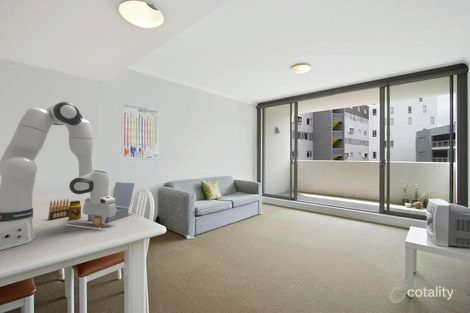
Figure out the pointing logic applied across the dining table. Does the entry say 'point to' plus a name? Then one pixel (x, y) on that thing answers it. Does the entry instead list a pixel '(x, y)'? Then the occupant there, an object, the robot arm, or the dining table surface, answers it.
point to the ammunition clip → (58, 210)
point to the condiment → (74, 210)
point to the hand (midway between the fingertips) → (98, 223)
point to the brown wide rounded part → (98, 220)
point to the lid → (123, 194)
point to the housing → (119, 214)
